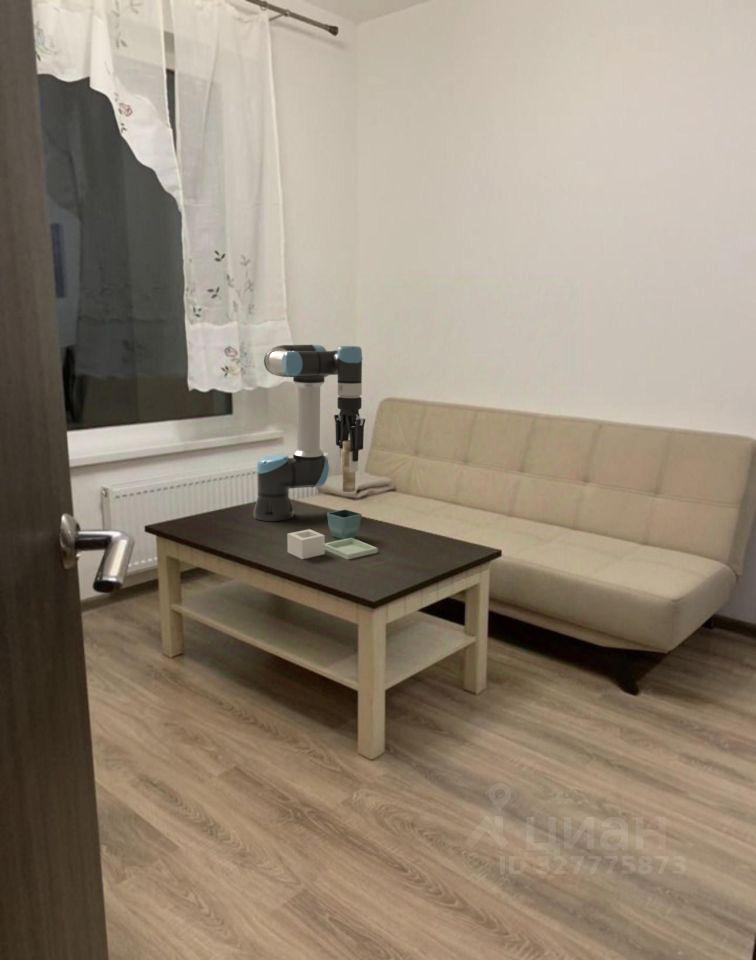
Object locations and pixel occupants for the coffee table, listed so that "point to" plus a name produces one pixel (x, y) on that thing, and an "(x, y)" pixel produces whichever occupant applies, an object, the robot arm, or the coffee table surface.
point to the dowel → (347, 469)
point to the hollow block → (306, 543)
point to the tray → (350, 548)
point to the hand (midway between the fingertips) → (349, 469)
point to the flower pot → (344, 523)
